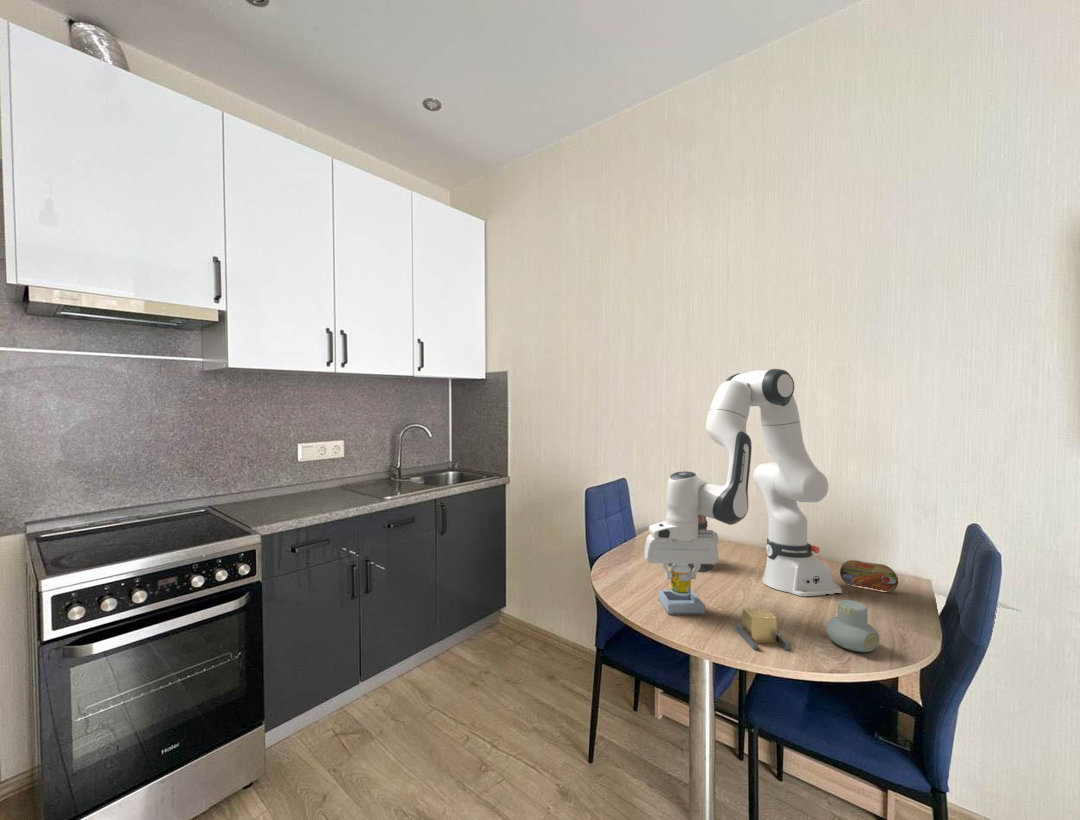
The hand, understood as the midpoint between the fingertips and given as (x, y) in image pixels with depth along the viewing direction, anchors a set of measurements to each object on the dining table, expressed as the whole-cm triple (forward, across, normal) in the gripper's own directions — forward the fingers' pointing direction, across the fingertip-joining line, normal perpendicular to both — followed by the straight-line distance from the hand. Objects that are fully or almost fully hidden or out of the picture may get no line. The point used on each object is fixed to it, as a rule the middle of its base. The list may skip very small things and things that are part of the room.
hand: (680, 578), depth 130 cm
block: (+8, -14, +17) cm, 24 cm away
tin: (+8, -65, -16) cm, 68 cm away
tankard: (+8, -14, -40) cm, 43 cm away
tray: (+8, 0, 0) cm, 8 cm away
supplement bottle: (+4, 0, 0) cm, 4 cm away
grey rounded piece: (+8, -35, +20) cm, 41 cm away
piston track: (+8, -14, +14) cm, 22 cm away
